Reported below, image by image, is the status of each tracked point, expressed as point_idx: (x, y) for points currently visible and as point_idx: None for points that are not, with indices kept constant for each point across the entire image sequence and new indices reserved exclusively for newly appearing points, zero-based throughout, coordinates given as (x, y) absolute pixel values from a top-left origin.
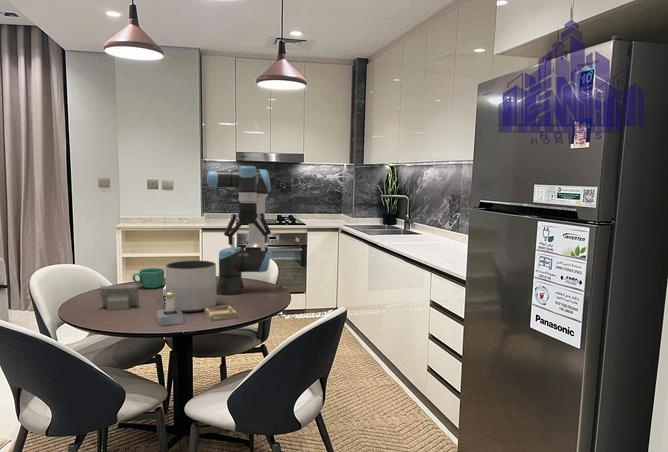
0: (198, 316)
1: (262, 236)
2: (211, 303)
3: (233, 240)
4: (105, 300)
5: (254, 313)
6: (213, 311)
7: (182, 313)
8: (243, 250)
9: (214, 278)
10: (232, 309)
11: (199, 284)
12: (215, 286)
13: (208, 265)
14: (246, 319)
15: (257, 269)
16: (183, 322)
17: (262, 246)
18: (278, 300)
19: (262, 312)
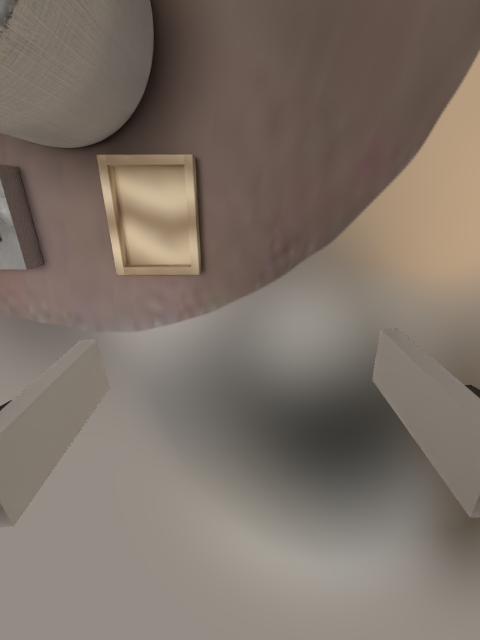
0: (84, 202)
1: (470, 490)
2: (122, 118)
3: (30, 485)
4: None
5: (264, 243)
6: (134, 176)
7: (20, 249)
8: None
9: (86, 33)
10: (192, 229)
11: (10, 123)
12: (116, 42)
13: None
14: (223, 296)
15: None
16: (41, 264)
17: (393, 389)
18: (428, 79)
19: (292, 242)
